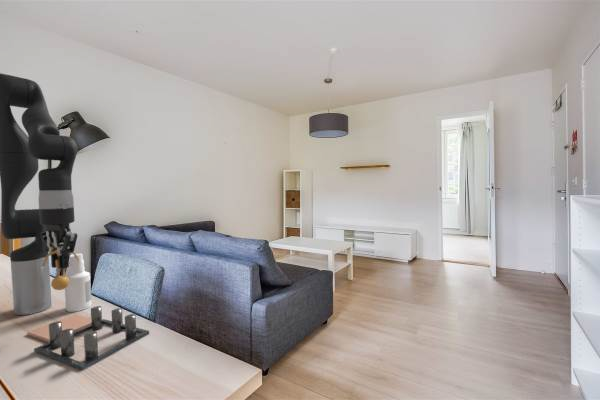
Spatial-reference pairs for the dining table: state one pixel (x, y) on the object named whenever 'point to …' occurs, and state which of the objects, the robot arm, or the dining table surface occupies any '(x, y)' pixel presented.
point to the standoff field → (89, 338)
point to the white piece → (78, 285)
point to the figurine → (58, 281)
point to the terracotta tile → (67, 323)
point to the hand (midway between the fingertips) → (60, 267)
